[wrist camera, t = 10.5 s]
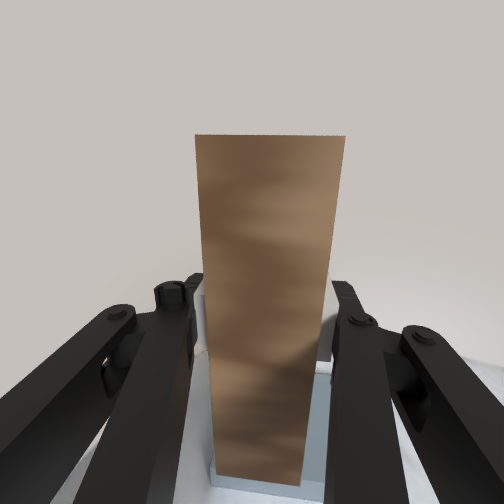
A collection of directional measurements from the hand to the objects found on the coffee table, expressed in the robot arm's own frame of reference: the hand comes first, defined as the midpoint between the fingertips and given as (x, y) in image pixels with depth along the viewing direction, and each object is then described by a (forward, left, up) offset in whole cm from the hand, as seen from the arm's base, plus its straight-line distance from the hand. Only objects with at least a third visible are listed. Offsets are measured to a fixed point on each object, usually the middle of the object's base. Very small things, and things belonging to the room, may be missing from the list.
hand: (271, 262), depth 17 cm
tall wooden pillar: (0, +5, -8) cm, 10 cm away
